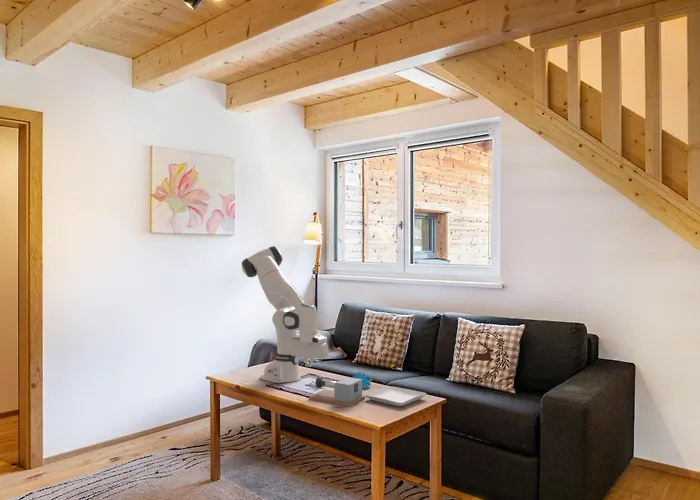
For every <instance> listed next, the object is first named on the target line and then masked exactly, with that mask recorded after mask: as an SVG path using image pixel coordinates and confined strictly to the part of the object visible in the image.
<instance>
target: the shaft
mask: <svg viewBox="0 0 700 500" xmlns="http://www.w3.org/2000/svg"><path fill="white" fill-rule="evenodd" d="M314 382H315V387H316V388H317V389H322V388H331V389H334V383H335V382H336V381H334V380H333V381H332V380H325V379H324V378H323V377H320V376H318V377H317V378H316V379H315V381H314Z"/></svg>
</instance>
